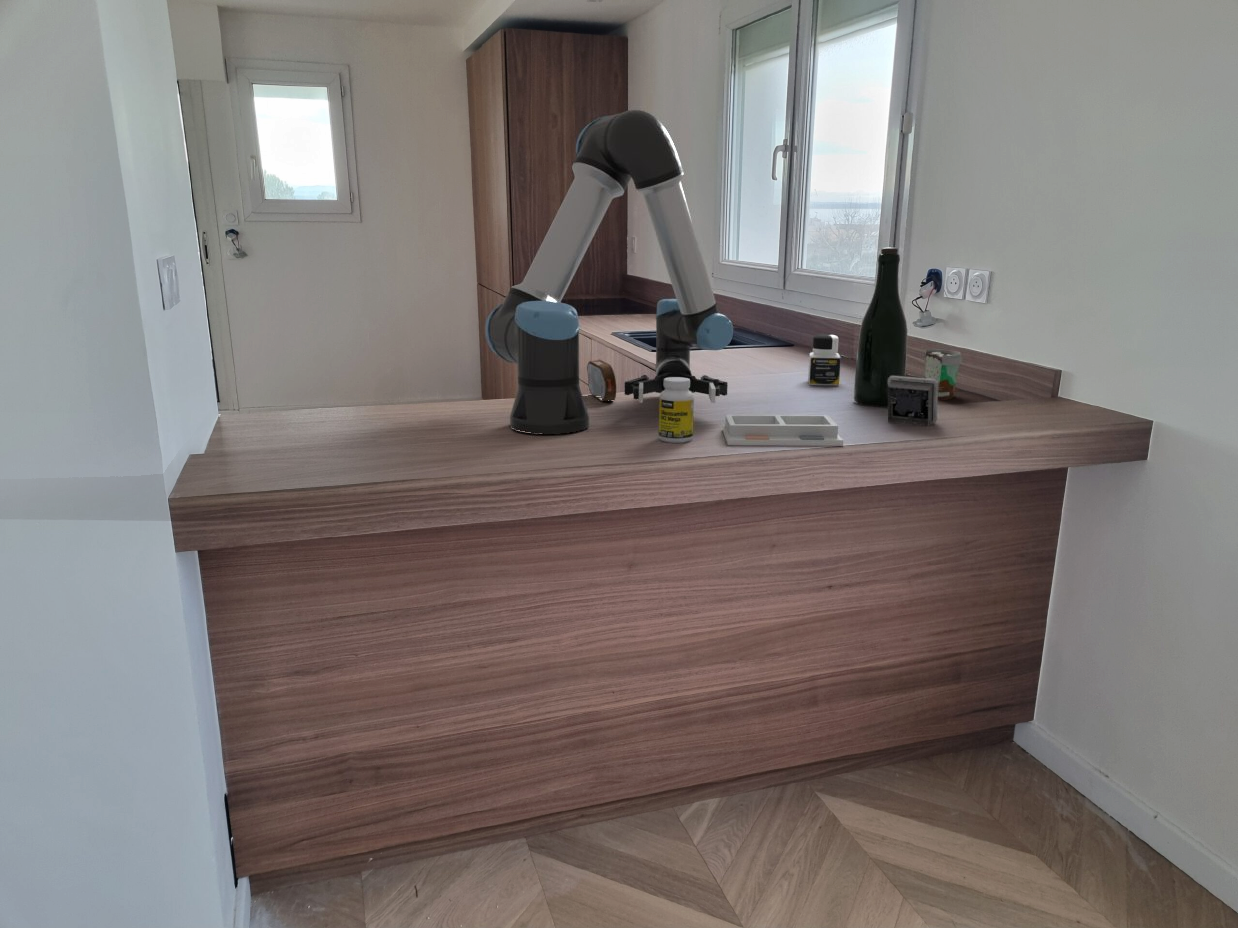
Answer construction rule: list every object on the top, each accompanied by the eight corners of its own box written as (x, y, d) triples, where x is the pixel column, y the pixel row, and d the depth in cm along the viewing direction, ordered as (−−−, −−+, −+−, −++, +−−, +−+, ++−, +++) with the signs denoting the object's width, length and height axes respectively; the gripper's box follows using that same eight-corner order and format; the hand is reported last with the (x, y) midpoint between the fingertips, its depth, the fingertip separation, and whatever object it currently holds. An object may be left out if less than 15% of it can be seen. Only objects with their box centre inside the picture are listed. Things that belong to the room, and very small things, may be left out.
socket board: (727, 445, 149) (728, 428, 149) (722, 430, 161) (723, 414, 160) (842, 445, 149) (844, 429, 148) (829, 430, 160) (830, 415, 159)
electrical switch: (937, 423, 166) (940, 377, 163) (930, 431, 162) (933, 383, 159) (888, 418, 171) (891, 373, 168) (881, 425, 167) (883, 379, 164)
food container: (967, 401, 189) (972, 356, 186) (939, 401, 189) (943, 356, 186) (947, 391, 200) (951, 348, 198) (921, 391, 201) (924, 348, 198)
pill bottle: (655, 442, 151) (656, 381, 149) (661, 435, 157) (662, 375, 154) (690, 444, 150) (691, 382, 147) (695, 436, 156) (696, 376, 153)
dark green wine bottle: (878, 409, 180) (890, 248, 171) (843, 401, 189) (853, 247, 180) (913, 404, 185) (927, 247, 176) (877, 397, 193) (888, 247, 185)
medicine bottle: (809, 385, 209) (811, 336, 206) (807, 380, 216) (810, 333, 213) (839, 386, 208) (842, 336, 205) (836, 381, 215) (839, 333, 212)
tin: (617, 404, 187) (617, 366, 184) (603, 405, 186) (603, 366, 183) (598, 393, 200) (597, 357, 198) (585, 393, 199) (584, 357, 197)
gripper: (732, 395, 181) (743, 415, 161) (615, 394, 182) (611, 415, 162) (733, 360, 180) (744, 375, 159) (615, 359, 180) (610, 375, 160)
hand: (677, 395), depth 160 cm, fingers open, 13 cm apart
